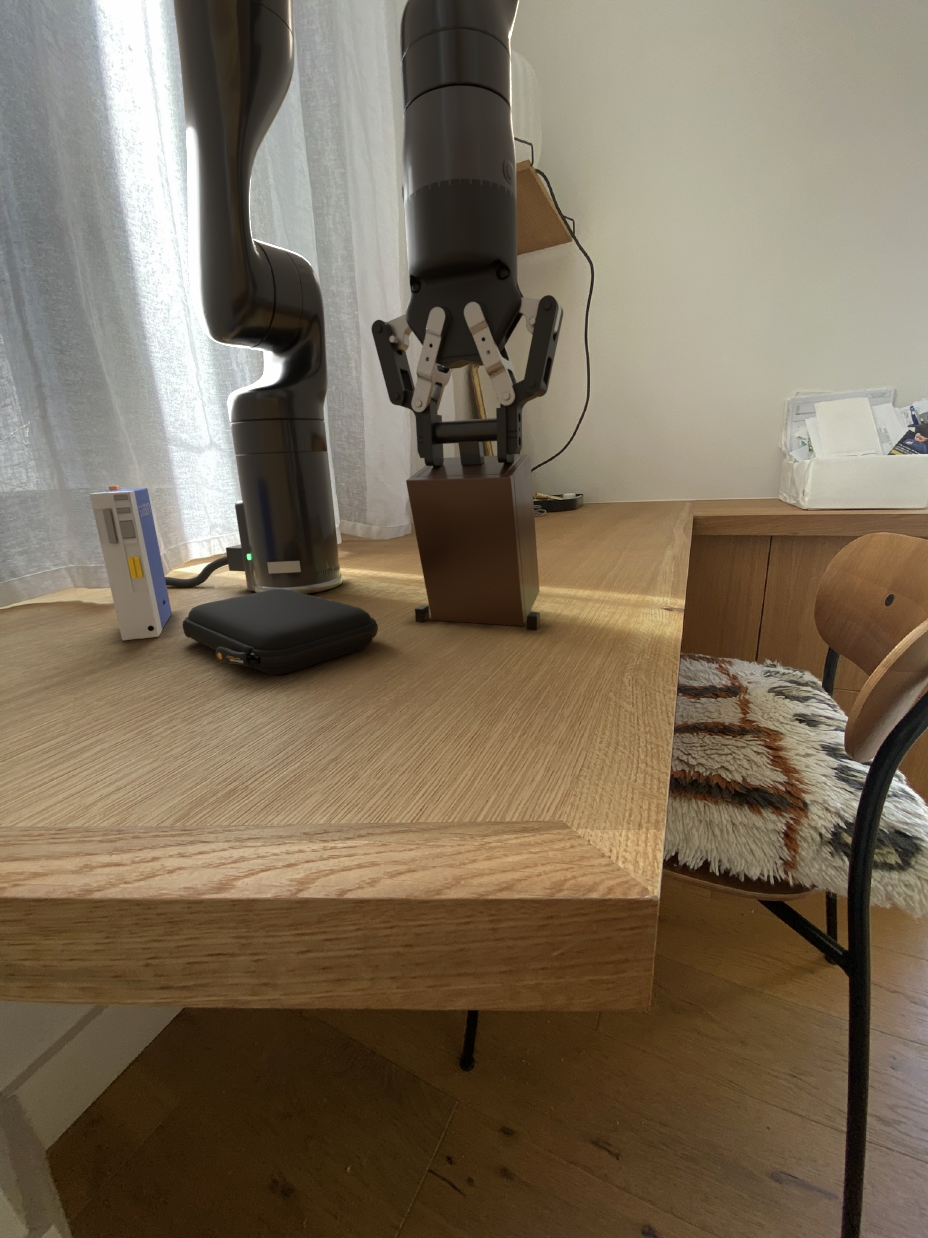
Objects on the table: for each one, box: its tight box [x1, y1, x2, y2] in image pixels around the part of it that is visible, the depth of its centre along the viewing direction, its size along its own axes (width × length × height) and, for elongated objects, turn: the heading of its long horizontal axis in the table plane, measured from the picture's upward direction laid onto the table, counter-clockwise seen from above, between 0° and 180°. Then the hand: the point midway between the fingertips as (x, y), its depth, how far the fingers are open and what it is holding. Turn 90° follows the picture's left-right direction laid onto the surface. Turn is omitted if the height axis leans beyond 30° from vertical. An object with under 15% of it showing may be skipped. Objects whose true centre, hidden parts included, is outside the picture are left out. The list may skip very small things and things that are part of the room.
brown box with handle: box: [405, 417, 541, 627], centre depth 44 cm, size 15×8×6 cm
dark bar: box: [414, 604, 541, 631], centre depth 45 cm, size 10×1×1 cm, turn 70°
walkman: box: [89, 485, 173, 641], centre depth 47 cm, size 8×3×12 cm, turn 20°
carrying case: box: [182, 589, 379, 675], centre depth 41 cm, size 11×3×15 cm
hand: (469, 463), depth 42 cm, fingers closed on brown box with handle, 5 cm apart
